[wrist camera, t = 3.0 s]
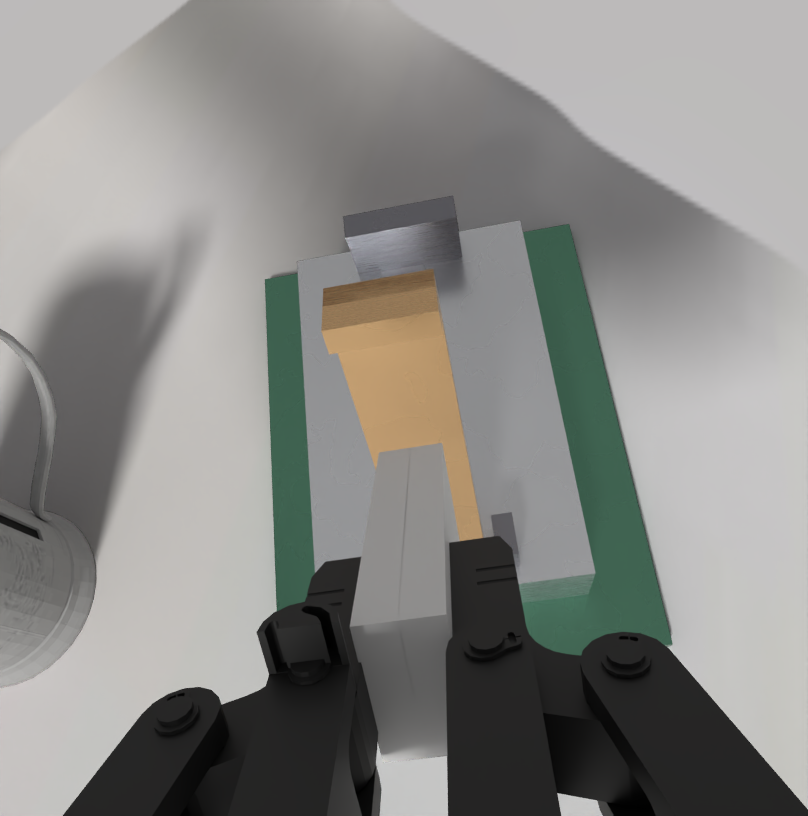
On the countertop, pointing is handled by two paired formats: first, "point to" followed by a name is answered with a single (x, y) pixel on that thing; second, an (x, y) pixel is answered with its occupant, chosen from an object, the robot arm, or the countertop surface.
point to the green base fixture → (470, 420)
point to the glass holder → (40, 563)
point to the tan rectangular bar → (402, 374)
